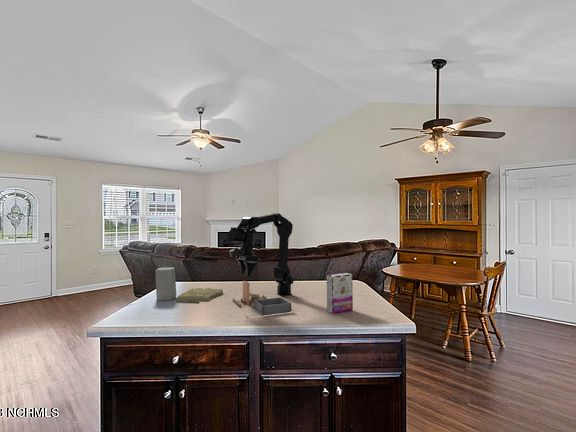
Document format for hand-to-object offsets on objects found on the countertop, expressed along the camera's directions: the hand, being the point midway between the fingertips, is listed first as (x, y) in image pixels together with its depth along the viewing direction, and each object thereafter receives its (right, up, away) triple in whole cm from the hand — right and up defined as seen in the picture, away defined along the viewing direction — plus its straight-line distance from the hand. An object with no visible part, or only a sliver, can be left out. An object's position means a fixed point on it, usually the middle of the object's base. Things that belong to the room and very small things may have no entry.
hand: (245, 275), depth 155 cm
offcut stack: (+5, -14, +1) cm, 15 cm away
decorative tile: (-25, -15, +13) cm, 32 cm away
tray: (+13, -14, -9) cm, 21 cm away
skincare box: (-42, -14, +10) cm, 45 cm away
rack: (+3, -14, +1) cm, 14 cm away
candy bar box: (+43, -14, -10) cm, 47 cm away
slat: (0, -13, 0) cm, 13 cm away
